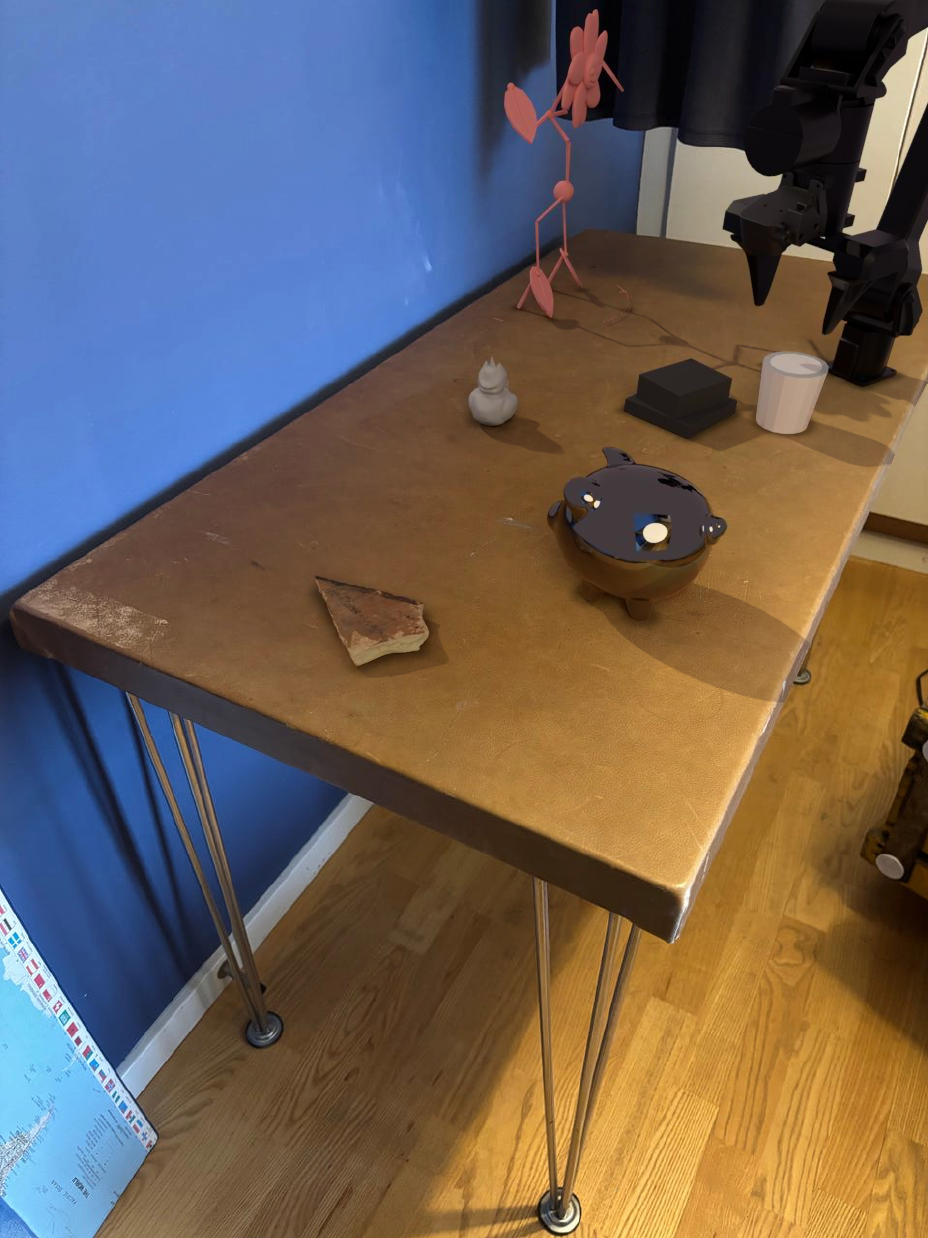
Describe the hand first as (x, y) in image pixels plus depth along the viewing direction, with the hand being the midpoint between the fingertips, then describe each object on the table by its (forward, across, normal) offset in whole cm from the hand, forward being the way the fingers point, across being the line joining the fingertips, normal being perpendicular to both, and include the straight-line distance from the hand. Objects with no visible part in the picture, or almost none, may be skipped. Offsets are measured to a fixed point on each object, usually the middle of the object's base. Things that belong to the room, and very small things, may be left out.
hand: (791, 319), depth 95 cm
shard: (+11, +9, -56) cm, 58 cm away
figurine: (+12, -39, +2) cm, 41 cm away
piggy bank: (+12, +16, -34) cm, 39 cm away
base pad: (+12, -7, -7) cm, 15 cm away
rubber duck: (+12, -16, -26) cm, 33 cm away
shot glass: (+12, +1, +1) cm, 12 cm away
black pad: (+10, -7, -7) cm, 14 cm away
